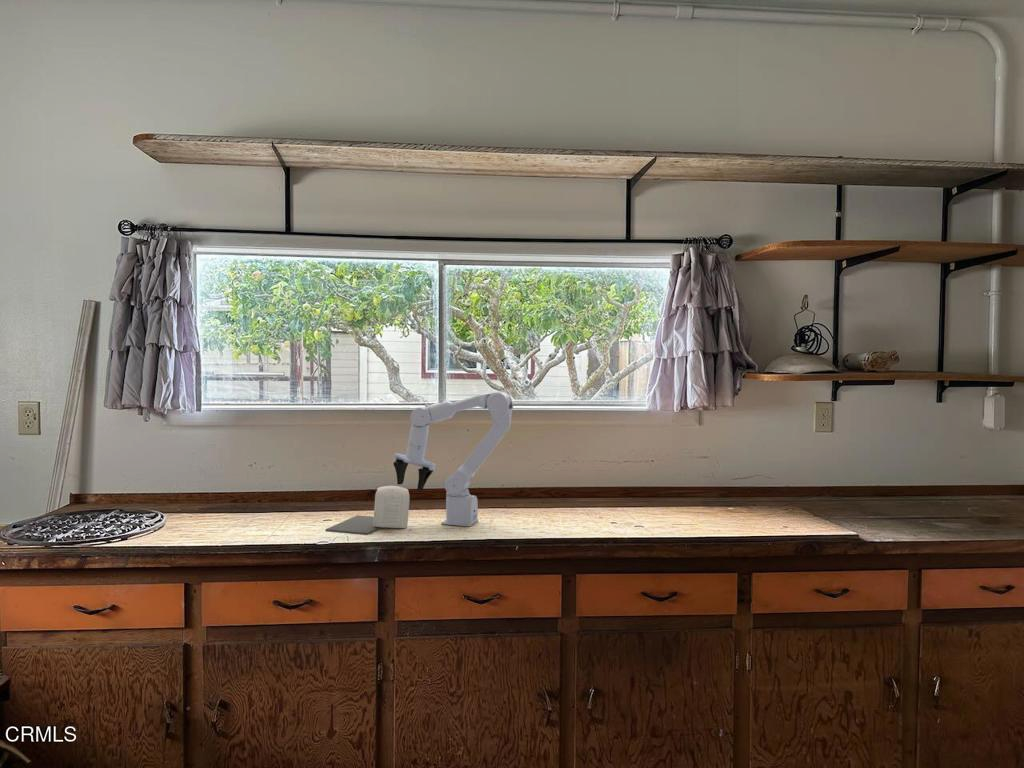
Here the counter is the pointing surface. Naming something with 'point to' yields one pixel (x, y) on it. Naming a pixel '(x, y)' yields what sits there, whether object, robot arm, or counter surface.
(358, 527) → the mat
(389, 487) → the photo printer
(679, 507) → the counter surface
